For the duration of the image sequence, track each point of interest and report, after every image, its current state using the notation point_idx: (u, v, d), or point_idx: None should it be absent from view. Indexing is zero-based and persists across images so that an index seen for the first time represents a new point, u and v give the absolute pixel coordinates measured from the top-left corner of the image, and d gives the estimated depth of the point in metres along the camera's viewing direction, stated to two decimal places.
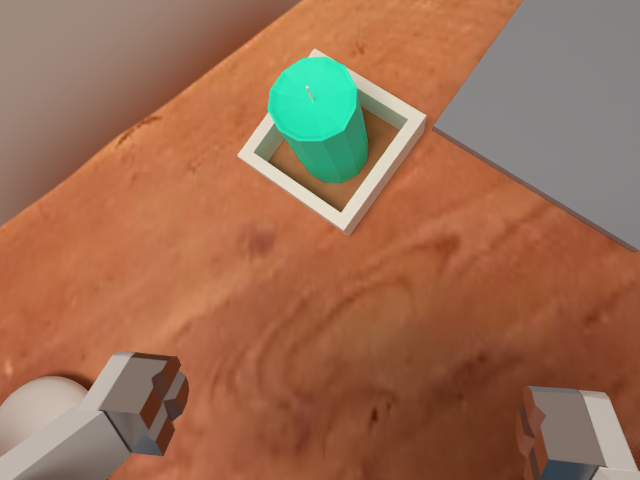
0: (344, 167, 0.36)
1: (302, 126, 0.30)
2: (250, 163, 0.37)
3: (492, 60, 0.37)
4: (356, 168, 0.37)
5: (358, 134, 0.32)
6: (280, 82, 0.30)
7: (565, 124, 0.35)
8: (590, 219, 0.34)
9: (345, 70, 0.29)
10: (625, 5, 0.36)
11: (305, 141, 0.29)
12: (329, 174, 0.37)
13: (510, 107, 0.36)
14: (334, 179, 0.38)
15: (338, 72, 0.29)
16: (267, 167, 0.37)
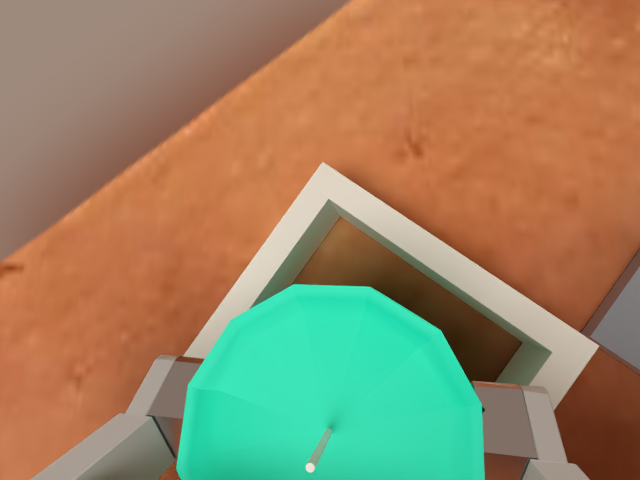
0: None
1: None
2: None
3: None
4: None
5: None
6: (222, 359, 0.09)
7: None
8: None
9: (441, 345, 0.08)
10: None
11: None
12: None
13: None
14: None
15: (414, 342, 0.09)
16: None
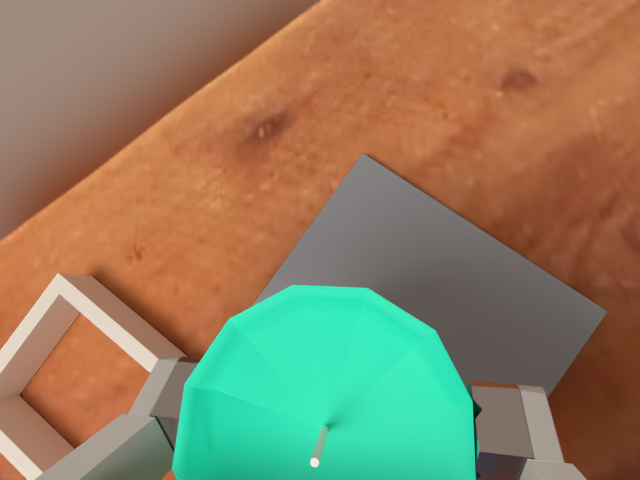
0: None
1: None
2: None
3: (278, 289, 0.30)
4: None
5: None
6: (219, 358, 0.09)
7: None
8: None
9: (435, 345, 0.09)
10: (432, 230, 0.29)
11: None
12: None
13: None
14: None
15: (409, 342, 0.09)
16: None
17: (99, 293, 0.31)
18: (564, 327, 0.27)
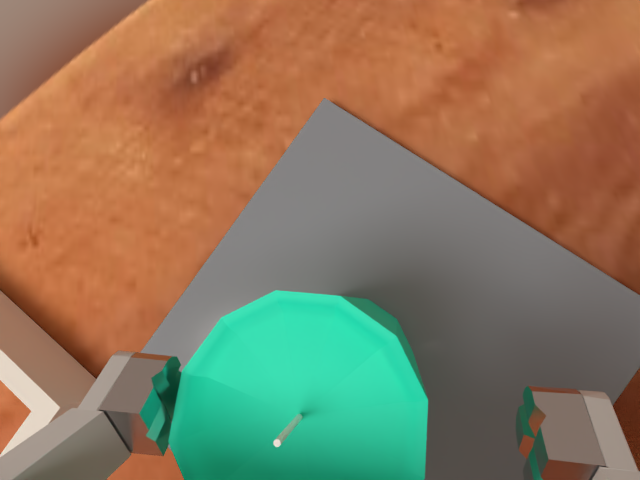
0: None
1: None
2: None
3: (208, 285, 0.22)
4: None
5: None
6: (212, 350, 0.11)
7: None
8: None
9: (396, 349, 0.10)
10: (419, 203, 0.21)
11: None
12: None
13: None
14: None
15: (375, 345, 0.10)
16: None
17: None
18: (609, 340, 0.19)
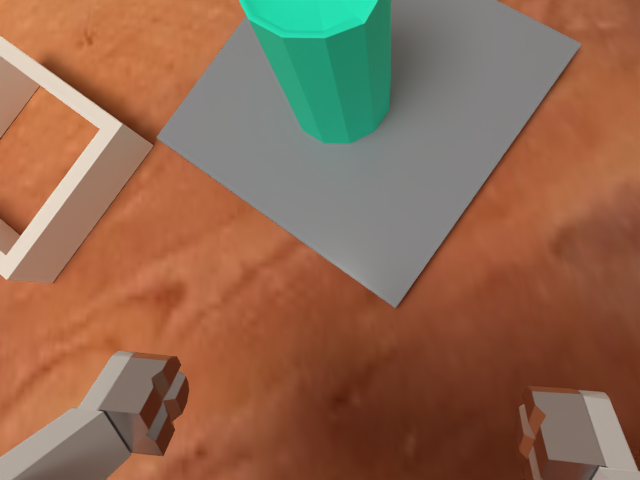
0: (356, 114, 0.23)
1: (291, 16, 0.17)
2: None
3: (233, 52, 0.28)
4: (372, 120, 0.24)
5: (384, 50, 0.20)
6: None
7: None
8: (337, 265, 0.25)
9: None
10: None
11: (295, 39, 0.16)
12: (331, 126, 0.24)
13: (250, 114, 0.27)
14: (338, 136, 0.25)
15: None
16: None
17: None
18: (534, 63, 0.25)
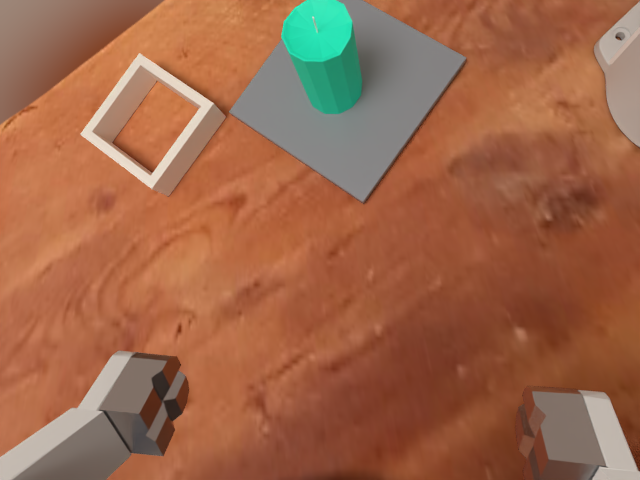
0: (341, 96, 0.44)
1: (308, 51, 0.37)
2: (89, 140, 0.49)
3: (273, 62, 0.49)
4: (351, 100, 0.45)
5: (352, 64, 0.40)
6: (292, 16, 0.38)
7: None
8: (331, 180, 0.46)
9: (343, 7, 0.37)
10: (366, 21, 0.48)
11: (310, 62, 0.37)
12: (328, 103, 0.45)
13: (283, 98, 0.48)
14: (332, 109, 0.46)
15: (338, 9, 0.37)
16: (100, 142, 0.48)
17: None
18: (441, 68, 0.46)
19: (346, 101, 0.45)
